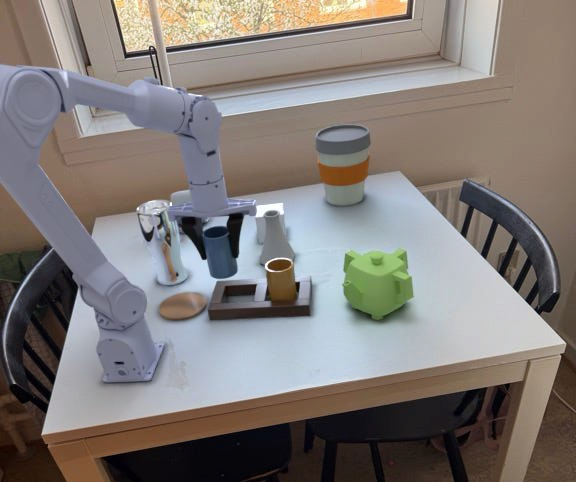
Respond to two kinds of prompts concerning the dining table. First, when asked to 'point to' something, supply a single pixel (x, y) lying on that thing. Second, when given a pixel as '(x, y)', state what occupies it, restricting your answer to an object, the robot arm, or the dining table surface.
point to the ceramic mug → (182, 198)
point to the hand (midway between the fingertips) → (221, 256)
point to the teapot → (377, 281)
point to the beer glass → (162, 241)
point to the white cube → (262, 223)
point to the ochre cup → (281, 279)
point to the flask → (275, 239)
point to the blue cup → (219, 252)
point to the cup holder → (258, 300)
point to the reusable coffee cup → (343, 162)
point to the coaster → (182, 306)
